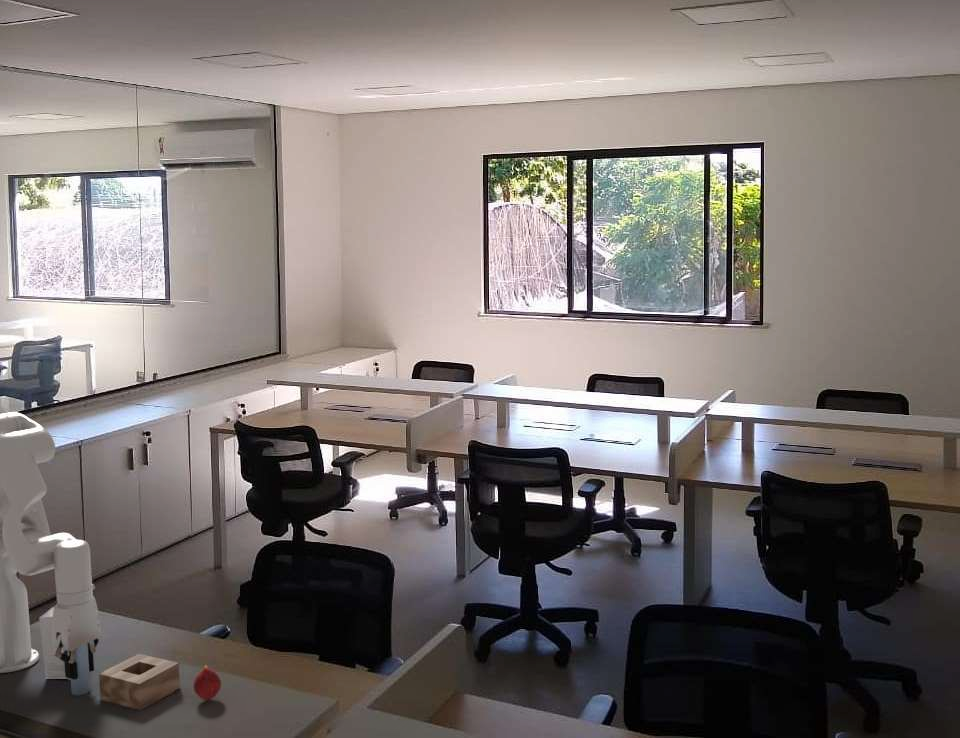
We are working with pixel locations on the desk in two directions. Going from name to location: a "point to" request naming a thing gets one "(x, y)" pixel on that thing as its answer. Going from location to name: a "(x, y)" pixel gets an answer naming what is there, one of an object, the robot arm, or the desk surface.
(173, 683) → the bore block
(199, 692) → the onion
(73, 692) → the pin
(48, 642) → the skincare box
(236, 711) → the desk surface
